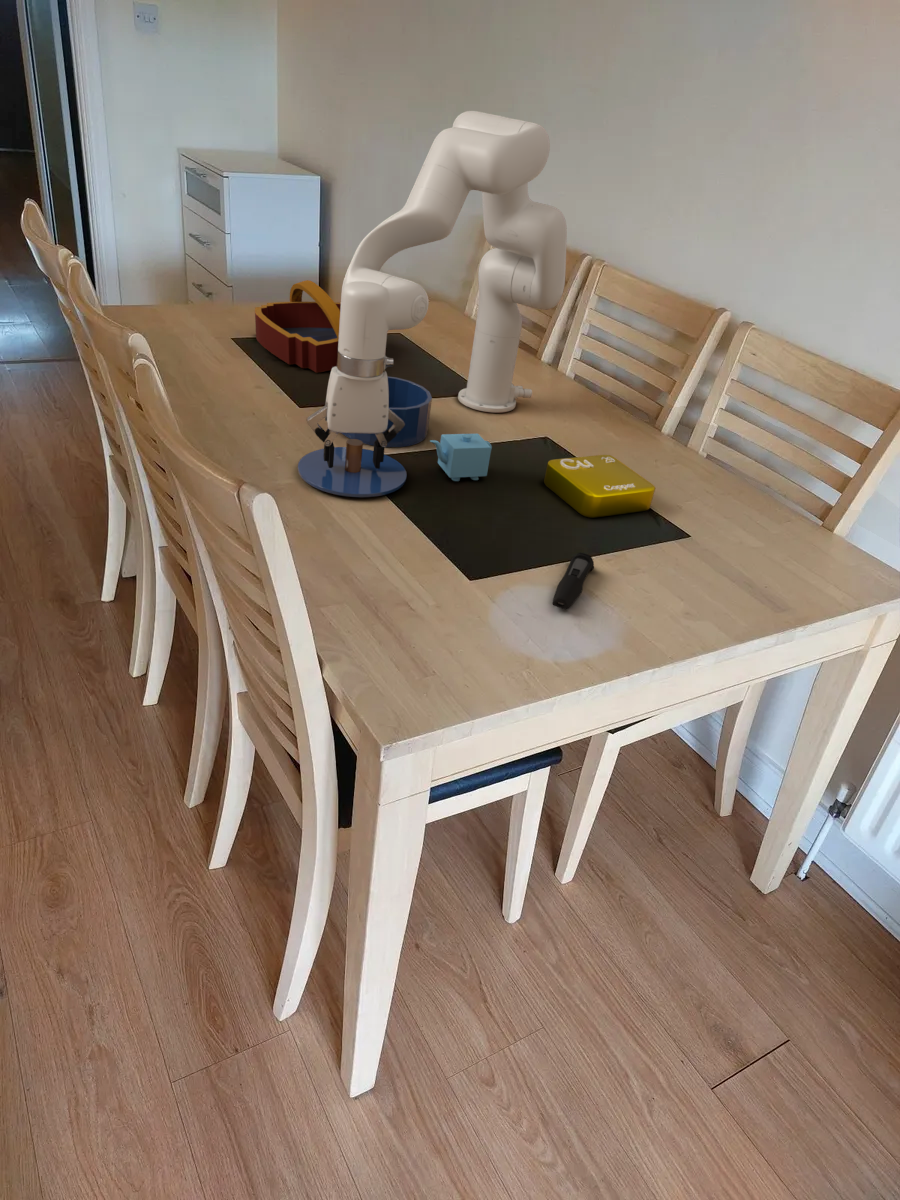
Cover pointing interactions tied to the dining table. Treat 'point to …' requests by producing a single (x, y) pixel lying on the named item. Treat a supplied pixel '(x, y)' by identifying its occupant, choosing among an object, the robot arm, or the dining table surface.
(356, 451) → the lid
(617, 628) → the dining table surface
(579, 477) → the element tile
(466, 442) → the teapot
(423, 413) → the pot
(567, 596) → the electric trimmer
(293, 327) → the decorative basket
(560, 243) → the robot arm
